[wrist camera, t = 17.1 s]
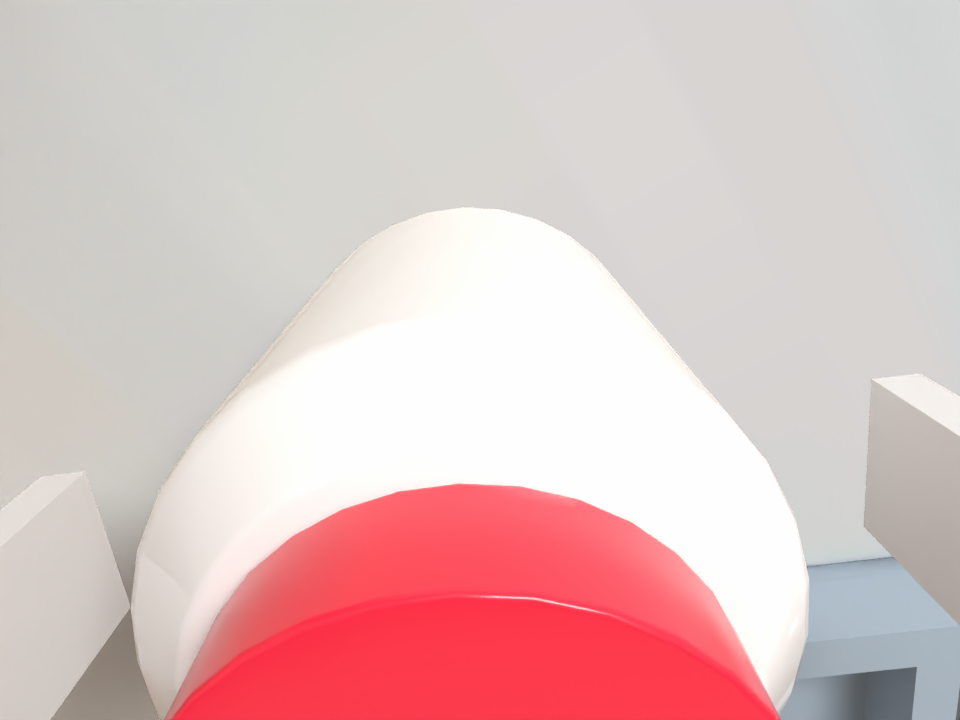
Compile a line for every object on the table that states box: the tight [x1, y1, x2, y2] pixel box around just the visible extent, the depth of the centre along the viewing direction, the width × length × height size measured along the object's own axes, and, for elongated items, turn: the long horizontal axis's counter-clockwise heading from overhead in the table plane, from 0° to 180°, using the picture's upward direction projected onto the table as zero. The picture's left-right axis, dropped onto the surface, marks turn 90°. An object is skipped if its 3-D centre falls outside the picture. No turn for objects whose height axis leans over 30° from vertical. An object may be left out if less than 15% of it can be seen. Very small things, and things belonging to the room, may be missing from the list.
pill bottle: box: [131, 207, 809, 720], centre depth 11 cm, size 8×8×11 cm
